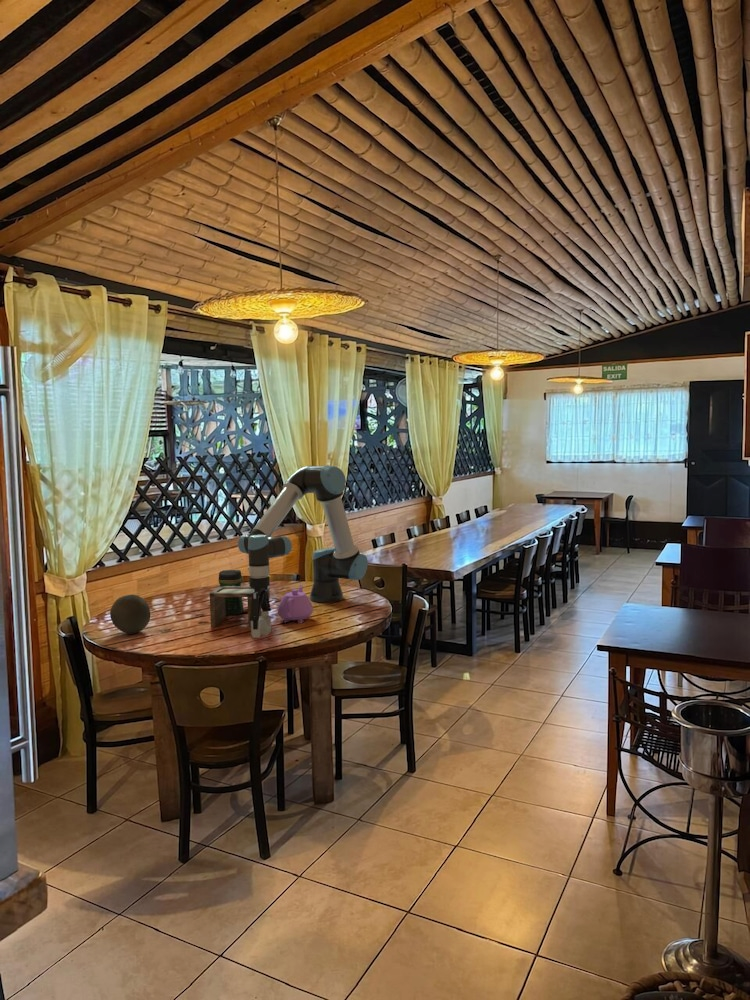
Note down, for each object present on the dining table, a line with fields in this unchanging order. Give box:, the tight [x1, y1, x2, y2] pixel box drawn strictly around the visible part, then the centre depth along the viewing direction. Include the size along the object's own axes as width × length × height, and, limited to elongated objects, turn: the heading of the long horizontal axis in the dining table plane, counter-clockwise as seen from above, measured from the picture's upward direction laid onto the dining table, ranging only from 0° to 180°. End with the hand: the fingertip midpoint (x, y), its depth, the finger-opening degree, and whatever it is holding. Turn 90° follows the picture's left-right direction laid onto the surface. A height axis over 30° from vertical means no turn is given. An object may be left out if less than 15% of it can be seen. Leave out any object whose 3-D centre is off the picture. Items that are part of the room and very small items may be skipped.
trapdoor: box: [219, 587, 270, 599], centre depth 270 cm, size 19×8×4 cm, turn 84°
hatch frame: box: [209, 585, 262, 628], centre depth 271 cm, size 17×13×14 cm
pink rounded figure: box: [277, 584, 314, 624], centre depth 274 cm, size 20×14×12 cm
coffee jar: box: [217, 569, 244, 616], centre depth 286 cm, size 10×8×19 cm
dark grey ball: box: [109, 594, 151, 635], centre depth 258 cm, size 14×14×15 cm
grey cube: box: [250, 615, 272, 637], centre depth 256 cm, size 6×6×6 cm
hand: (261, 632), depth 256 cm, fingers open, 12 cm apart
